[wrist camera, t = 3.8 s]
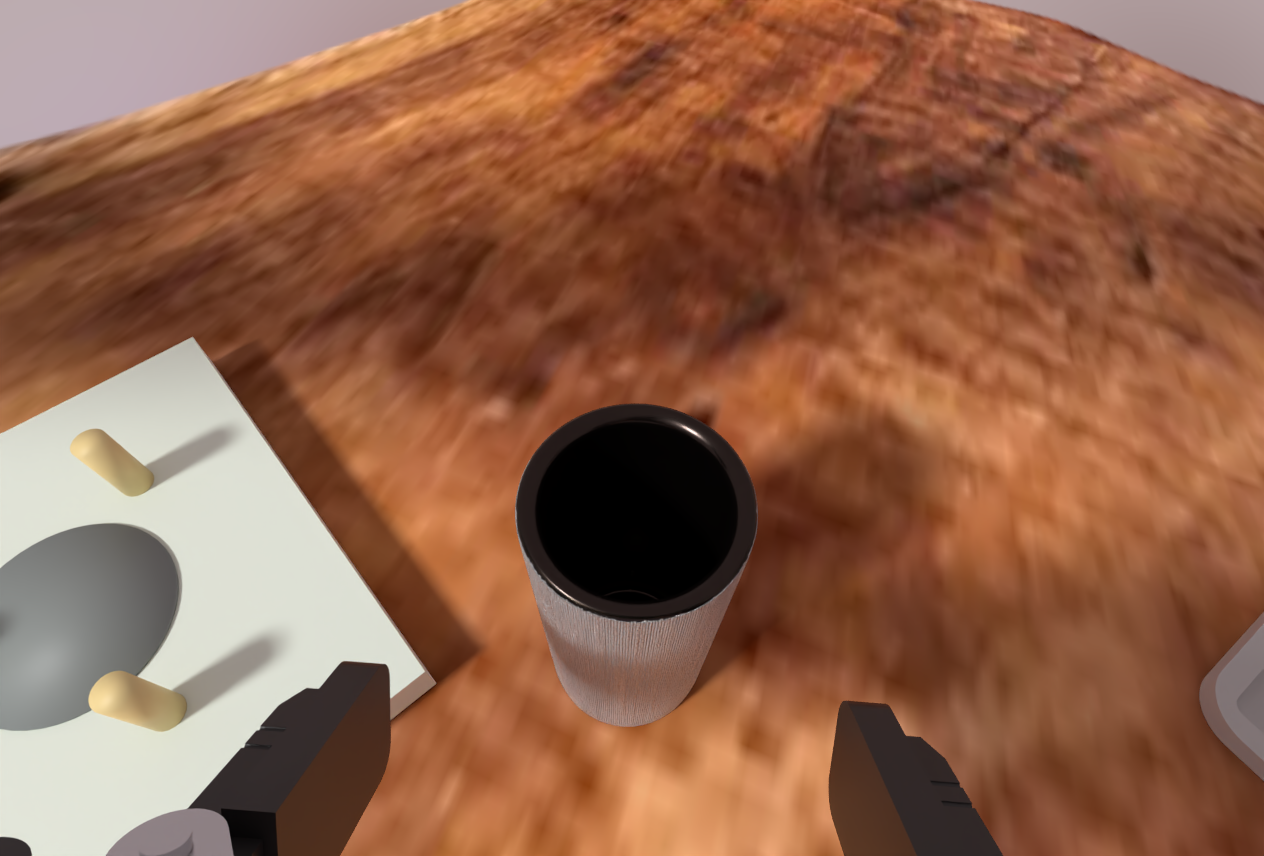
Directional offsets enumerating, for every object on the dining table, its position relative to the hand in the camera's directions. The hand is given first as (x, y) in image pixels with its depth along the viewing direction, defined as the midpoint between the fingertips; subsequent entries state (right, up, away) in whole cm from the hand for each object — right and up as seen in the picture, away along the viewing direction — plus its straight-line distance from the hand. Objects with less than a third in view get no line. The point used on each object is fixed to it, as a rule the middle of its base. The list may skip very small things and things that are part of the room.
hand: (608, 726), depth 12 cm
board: (-16, -1, +9) cm, 19 cm away
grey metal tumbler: (0, -2, +9) cm, 10 cm away
